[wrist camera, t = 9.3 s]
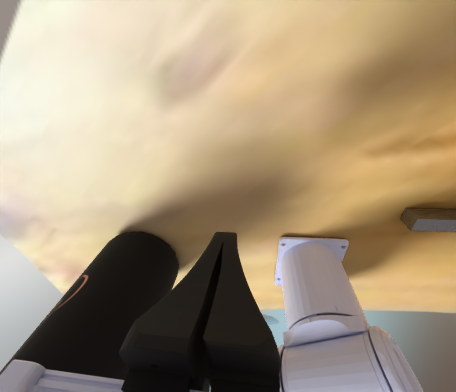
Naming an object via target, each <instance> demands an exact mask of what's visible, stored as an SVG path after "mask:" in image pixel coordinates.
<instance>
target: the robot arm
mask: <svg viewBox="0 0 456 392" xmlns="http://www.w3.org/2000/svg"><path fill="white" fill-rule="evenodd" d="M282 243H284V244H282ZM348 245H349V242H348V240H346V239H329V238H303V237H281V238H280V239H279V247H278V255H277V264H276V273H275V285H278V286H282V290H283V298H284V306H285V314H286V322H287V328H288V331H286V332H283V340H284V345H281V346H280V347H279V348H277V345H276V342H275V340H274V337H273V334H272V332H271V330H270V328H269V326H268V325H267V323H266V321H265V319H264V318H263V316H262V314H261V312H260V310H259V308H258V306H257V304H256V302H255V299H254V297H253V295H252V293H251V291H250V288H249V286H248V283H247V281H246V278H245V275H244V272H243V269H242V266H241V262H240V258H239V254H238V249H237V234H236V233H230V232H216V233H215V235H214V236H213V238H212V240H211V242H210V243H209V245H208V247H207V248H206V250H205V251H204V253H203V254H202V256H201V257H200V258H199V260H198V261H197V262H196V264H195V265H194V266H193V268H192V269H191V270H190V271H189V272H188V274H187V275H186V276H185V277H184V278H183V279H182V280H181V281H180V282H179V283H178V284H177V285H176V287H175V288H174V289H172V290H171V291H170V292H169V293H168V294H167V295H166V296H165V297H164V298H163V299H161V300H160V301H159V302H158V303H157V304H156V305H155V306H153V307H152V308H151V309H149V310H148V311H147V312H146V313H144V314H143V315H142V316H140V317H139V318H138V319H136V320H135V322H134V324H133V325H132V327H131V329H130V330H129V332H128V334H127V336H126V338H125V340H124V342H123V344H122V346H121V349H120V351H119V354H120V357H121V359H122V360H123V361H124V362H125V363H126V364H127V366H128V367H129V371H128V373H127V376H126V378H125V380H119V379H112V378H104V377H97V376H90V375H83V374H76V373H69V372H62V371H54V370H47V369H45V368H44V367H43V366H42V365H40V364H38V363H35V362H31V361H23V360H16V359H15V360H12V362H11V363H10V364H9V365H8V366H7V368H6V369H5V370H4V371H3V373H2V374H1V375H0V392H209V387H210V386H211V392H423V390H422V387H421V386H420V384H419V382H418V380H417V378H416V376H415V374H414V373H413V371H412V369H411V367H410V365H409V364H408V362H407V360H406V358H405V357H404V355H403V354H402V352H401V350H400V349H399V347H398V345H397V344H396V342H395V341H394V339H393V338H392V337H391V336H390V334H388V333H387V332H385V331H383V330H381V329H380V328H379V327H378V326H373V327H370V326H369V324H368V322H367V320H366V317H365V315H364V313H363V310H362V308H361V306H360V304H359V301H358V299H357V297H356V295H355V292H354V290H353V288H352V285H351V283H350V281H349V279H348V276H347V274H346V272H345V270H344V267H343V265H342V261H343V258H344V256H345V253H346V250H347V248H348Z"/></svg>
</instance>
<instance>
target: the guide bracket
mask: <svg viewBox="0 0 456 392" xmlns="http://www.w3.org/2000/svg"><path fill="white" fill-rule="evenodd" d="M400 220H401V221H402V222H403V223H404V224H405V225H406V226H407V227H408V228H409V229H410V230H411V231H438V232H456V209H431V208H406V209H405V211H404V213H403V214H402V216H401V218H400Z"/></svg>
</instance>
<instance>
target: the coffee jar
mask: <svg viewBox="0 0 456 392" xmlns="http://www.w3.org/2000/svg"><path fill="white" fill-rule="evenodd" d="M178 269H179V264H178V261H177V257H176V254H175V252H174V251H173V249H172V248H171V247H170V245H168V244H167V243H166V242H165V241H163V240H162V239H160V238H158V237H156V236H154V235H152V234H148V233H144V232H129V233H125V234H122V235H118V236H116V237H115V238H113V239H112V240H111V241H109V242H108V243H107V245H106V246H105V247H104V248H103V249H102V251H101V252H100V253H99V254H98V255H97V257H96V258H95V259H94V260H93V261H92V263H91V264H90V265H89V266H88V267H87V269H86V270H85V271H84V272H83V273H82V275H81V276H80V277H79V278H78V279H77V281H76V282H75V283H74V284H73V285H72V287H71V288H70V289H69V290H68V291H67V292H66V294H65V295H64V296H63V297H62V298H61V300H60V301H59V302H58V303H57V304H56V306H55V307H54V308H53V309H52V311H51V312H50V313H49V314H48V315H47V316H46V318H45V319H44V320H43V321H42V322H41V324H40V325H39V326H38V327H37V328H36V330H35V331H34V332H33V333H32V334H31V336H30V337H29V338H28V339H27V340H26V342H25V343H24V344H23V345H22V346H21V348H20V349H19V350H18V351H17V352H16V354H15V355H14V356H13V357H12V359H11V360H10V361H9V362H8V363H7V364H6V366H5V367H4V368H3V369H2V370H1V372H0V375H1V374H2V373H3V371H4V370H5V369H6V368H7V366H8V365H9V364H10V363H11V362H12V360H15V359H16V360H23V361H31V362H35V363H38V364H40V365H42V366H43V367H44V368H45V369H47V370H54V371H62V372H69V373H76V374H83V375H90V376H97V377H104V378H112V379H119V380H125V378H126V376H127V373H128V371H129V367H128V366H127V364H126V363H125V362H124V361H123V360H122V359H121V357H120V354H119V351H120V349H121V346H122V344H123V342H124V340H125V338H126V336H127V334H128V332H129V330H130V329H131V327H132V325H133V324H134V322H135V320H136V319H138V318H139V317H140V316H142V315H143V314H144V313H146V312H147V311H148V310H149V309H151V308H152V307H153V306H155V305H156V304H157V303H158V302H159V301H160V300H161V299H163V298H164V297H165V296H166V295H167V294H168V293H169V292H170V291H171V290H172V288H173V285H174V282H175V280H176V277H177V274H178Z"/></svg>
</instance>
